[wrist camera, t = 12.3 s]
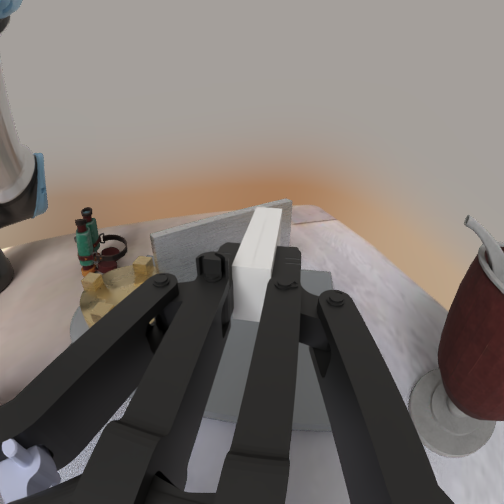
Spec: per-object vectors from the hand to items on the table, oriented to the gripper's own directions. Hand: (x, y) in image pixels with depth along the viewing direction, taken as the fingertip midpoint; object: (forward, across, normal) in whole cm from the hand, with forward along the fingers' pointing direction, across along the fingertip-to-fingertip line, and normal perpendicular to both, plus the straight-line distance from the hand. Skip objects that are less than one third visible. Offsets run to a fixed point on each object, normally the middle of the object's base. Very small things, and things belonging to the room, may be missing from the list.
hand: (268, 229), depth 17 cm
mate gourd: (-2, +21, -18) cm, 28 cm away
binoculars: (+20, -31, -19) cm, 42 cm away
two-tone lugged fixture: (+11, -9, -14) cm, 20 cm away
